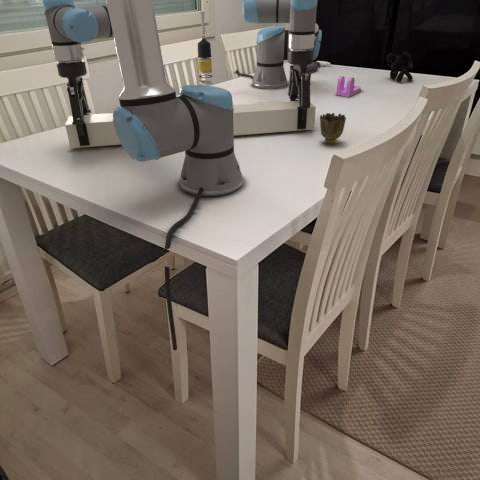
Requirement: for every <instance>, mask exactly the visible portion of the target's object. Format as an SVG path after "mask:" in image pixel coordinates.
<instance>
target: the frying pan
mask: <svg viewBox="0 0 480 480" xmlns="http://www.w3.org/2000/svg"><path fill="white" fill-rule="evenodd" d="M327 65H328V66H330V65H331V62H328V61H325V60H323V61H322V60H316V61H313V63H312V64H308V65H307V70H308V73H311V74H312V73H314V72H316V71H317V70H318V69H319V67H320V66H327Z"/></svg>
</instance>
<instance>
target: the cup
mask: <svg viewBox="0 0 480 480" xmlns="http://www.w3.org/2000/svg"><path fill="white" fill-rule="evenodd" d="M346 120H347V116H346V115H345V114H341V113H338V115H335V113H334V112H332V113H330V112H327V113H326V114H324V113H322V114H320V115H319V126H320V134H321V136H322V137H323V138H324V143H325V144H328V145H335V144H336V143H338V139H339V138H340V137H342V135H343V132H344V129H345V124H346Z"/></svg>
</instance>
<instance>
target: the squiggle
mask: <svg viewBox="0 0 480 480" xmlns="http://www.w3.org/2000/svg"><path fill="white" fill-rule="evenodd" d="M401 57H402V59H401ZM391 59H392V60H391ZM393 60H394V61H393ZM385 61H386V64H387V67H390V68H391V70H390V72H389V78H390V79H391V80H395V79H396V81H397V82H399V83H400V82H402V81H403V79H404V76H406V78H407V80H408V81H412V80H413V79H414V77H413V75H412V74H411V73H410V72H409V71H410V70H412V69H413V68H414V64H413V61H412V57H411V54H410V53H409V52H408V51H403V53H402V54H401V55H396V54H394V53H392V52H390V53H387V55H386V57H385ZM406 62H407V65H408V66H407V67H405V66H404V65H405V64H406ZM400 70H401V71H400Z"/></svg>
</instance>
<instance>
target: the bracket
mask: <svg viewBox="0 0 480 480" xmlns="http://www.w3.org/2000/svg"><path fill="white" fill-rule="evenodd" d="M345 77H346V76H343V75H339V77H338V78H337V83H336V93H335V95H336V96H342V97H348V98H349V97H352V96H353V95H355V94H357V93H360V92H361V89H362V88H361V86H359V85H355V83H356V82H355V80H356V79H355V77H352V76H349V77H348V78H347V81H346V78H345ZM345 81H346V82H345ZM345 83H346V86H345Z"/></svg>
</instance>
